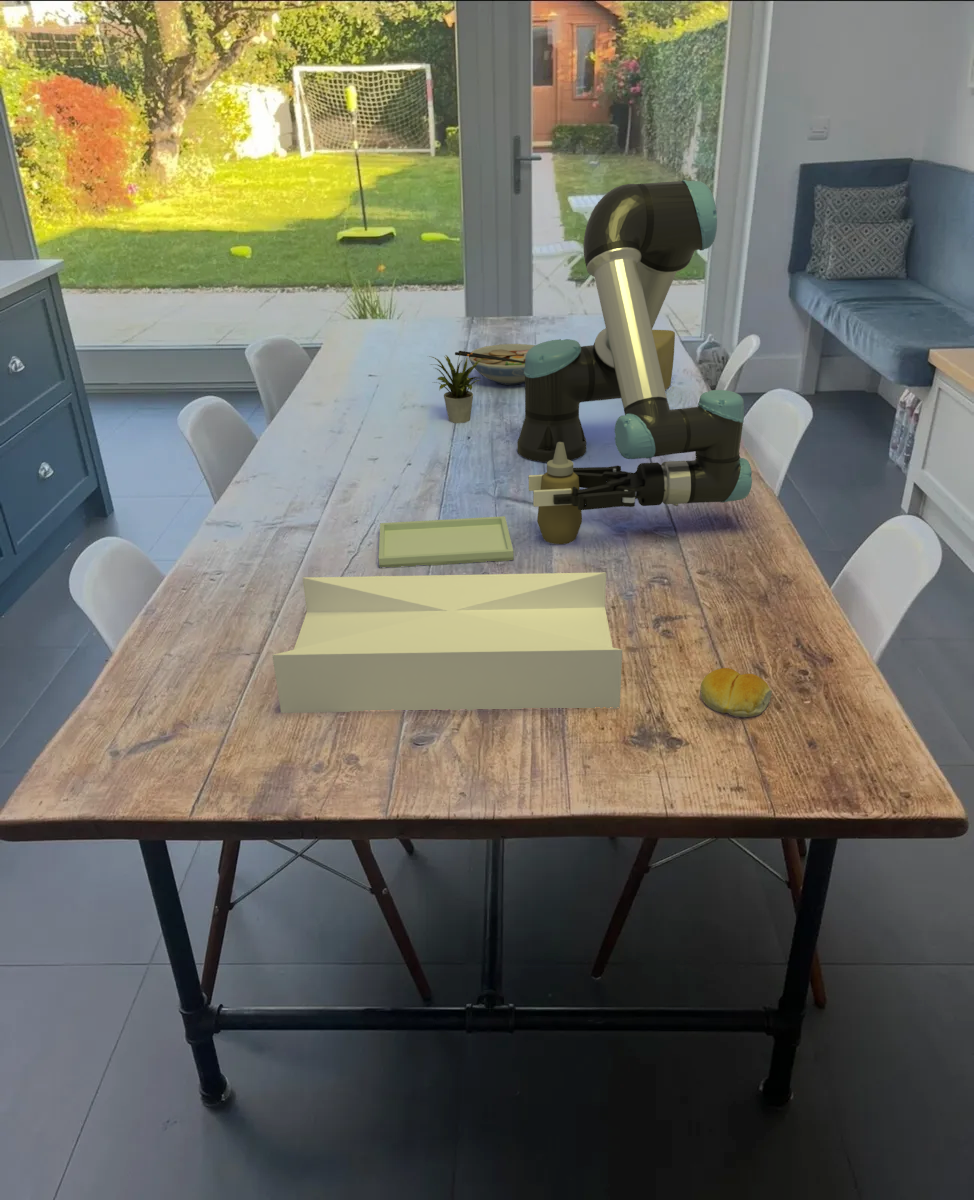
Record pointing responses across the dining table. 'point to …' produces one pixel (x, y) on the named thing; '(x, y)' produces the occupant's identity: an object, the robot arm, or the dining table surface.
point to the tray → (444, 542)
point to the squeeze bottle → (559, 519)
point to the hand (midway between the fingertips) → (531, 490)
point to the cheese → (665, 353)
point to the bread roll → (735, 693)
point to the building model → (451, 644)
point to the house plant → (458, 391)
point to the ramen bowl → (500, 362)
